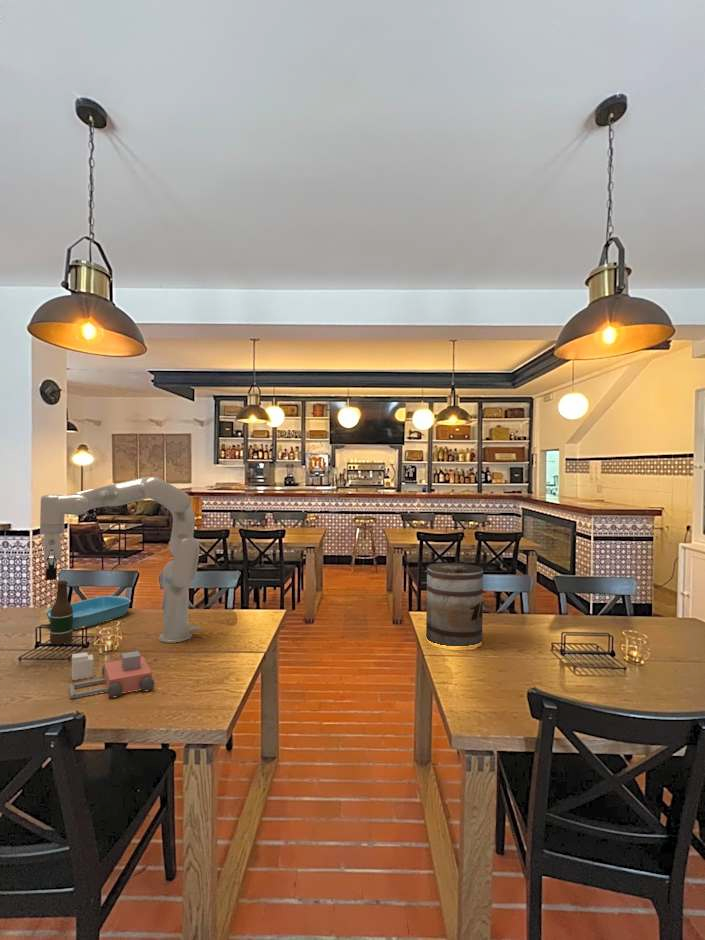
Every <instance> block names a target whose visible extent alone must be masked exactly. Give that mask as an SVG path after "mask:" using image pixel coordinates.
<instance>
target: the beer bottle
mask: <svg viewBox="0 0 705 940" xmlns="http://www.w3.org/2000/svg"><path fill="white" fill-rule="evenodd" d="M56 585H57V588H56V599H55V602H54V604H53V605H52V607H51V608H50V609H51V614H50V622H49V641H50V642H51V643H52V644H64V643H68V642H70V641H71V642H72V641H73V636H74V634H73V631H74V630H73V609H72V606H71V603H70V601H69V599H68V598H69V597H68V581H67V580H59V581H57V582H56ZM50 642H49V643H50ZM71 642H70V643H71ZM51 643H50V644H51ZM52 644H51V645H52ZM68 644H69V643H68ZM64 645H65V644H64Z"/></svg>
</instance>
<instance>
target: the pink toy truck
mask: <svg viewBox="0 0 705 940" xmlns="http://www.w3.org/2000/svg"><path fill="white" fill-rule="evenodd" d="M120 654H121V658H120V660H118V659H117V660H114V661H113V660H112V661H107V662H104V663H103V667H102V668H101V673H102V675H103V678H99V679H94V680H93V679H92V680H87V681H82V682H75V683H70V684H68V686H69V687H68V688H69V689H70V690H69V696H70V698H76V697H81V696H86V695H90V694H95V693H100V692H105V691H107V694H108V697H109V696H110V697H109V698H112V697H113V696H118V695H120V696H121V695H123V694H122V692H128V691H133V690H139V689H141V690H142V692H145V690H150V691H151V690H153V688H154V686H155V680H153V678H152V675H153V673H152V671H151V668H150V666H149V665H148V663H147V661H146V659H145V657H144V656H141V653H140V652H139V650H134V651H129V652H128V651H127V652H122V653H120ZM104 682H106V683H104ZM99 683H104V684H105V686H107V687H105V686H104V687H101V688H94V689H90V690H84V691H79V692H76V689H79V688H78V687H82V688H85V687H84V686H87V687H90V686H89V685H93V684H98V685H100V684H99ZM93 686H94V685H93ZM74 688H76V689H74ZM107 689H108V690H107ZM86 697H87V696H86ZM118 697H119V696H118ZM81 698H82V697H81ZM76 699H77V698H76Z"/></svg>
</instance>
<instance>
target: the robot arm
mask: <svg viewBox="0 0 705 940" xmlns="http://www.w3.org/2000/svg"><path fill="white" fill-rule="evenodd" d="M148 499H151V500H153V501H154V502H156V503H158V504H160V505H161V506H164V508H165V509H166V510H168V511H169V512H170V514H171V517H172V527H171V534H170V540H169V544H168V545H169V546H168V547H169V548H168V549H169V551H170V553H171V554H172V555H173V559H172V560H170V561H168V562H167V563H166V564H165V565H164V566H163V570H162V586H163V606H162V607H163V615H162V616H163V617H162V618H163V619H162V621H163V622H162V624H163V625H162V633H161V634H159V636H158V640H159V641H160V642H161V643H166V644H167V643H169V644H175V643H176V642H177V643H182V641H183V642H186V641H188V640H190V639H191V638H192V636H193V635H192V633H193V632H200V631H201V626H195V625H193V626H192V625H190V626H189V587H190V586H191V585H192V584H193V583H194V581H195V579H196V576H197V570H198V566H199V565H198V564H199V558H200V544H199V541H198V540H197V539H196V538H195V537H194V533H195V523H196V522H195V521H196V517H195V512H194V509H193V506H192V500H191V496H190V495H189V494H188V493H187V492H186V491H184V490H181V489H180V488H178V487H176V486H174V485H172V484H171V483H169V482H167V481H165V480H163V479H162V478H160V477H157V476H144V477H140V478H135V479H131V480H126V481H121V482H117V483H113V484H108V485H105V486H101V487H96V488H92V489H86V490H83V491H78V492H73V493H69V494H68V495H63V494H44V495H42V496H41V498H40V508H39V509H40V512H39V513H40V516H39V517H40V519H39V534H40V535H43V556H44V557H43V558H44V562H45V563H46V566H45V567H46V568H45V581H51V580H53V581H54V580H57V564H58V563H57V561H58V562H60V561H61V560H62V559H61V558H62V554H61V553H62V534H65V515H71V516H81V515H84V514H85V513H87V511H88V510H89V511H90V510H93V509H97V508H103V507H117V506H124V505H127V504H132V503H134V502H135V503H136V502H140V501H144V500H148ZM187 639H188V640H187ZM185 640H186V641H185Z"/></svg>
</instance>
